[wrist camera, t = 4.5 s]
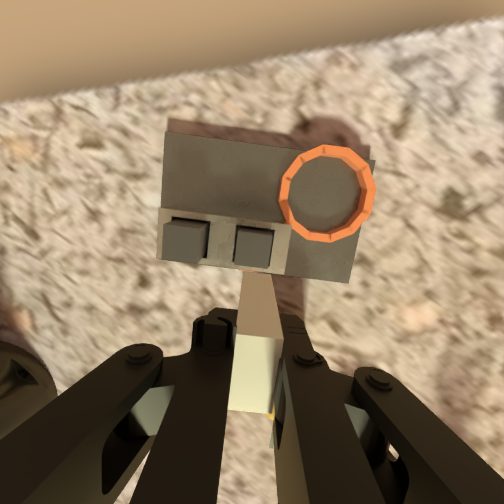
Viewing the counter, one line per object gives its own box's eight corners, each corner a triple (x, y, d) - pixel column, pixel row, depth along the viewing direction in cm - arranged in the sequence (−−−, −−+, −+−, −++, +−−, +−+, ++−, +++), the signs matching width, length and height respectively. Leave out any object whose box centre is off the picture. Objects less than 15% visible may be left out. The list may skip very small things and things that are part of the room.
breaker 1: (176, 248, 27) (161, 259, 23) (178, 218, 26) (163, 224, 22) (206, 252, 27) (197, 264, 23) (209, 222, 27) (200, 228, 22)
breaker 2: (237, 253, 28) (233, 264, 24) (240, 224, 28) (238, 231, 23) (265, 256, 29) (267, 269, 24) (269, 228, 28) (272, 235, 24)
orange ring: (272, 232, 29) (273, 235, 27) (286, 142, 27) (288, 139, 25) (357, 244, 29) (363, 247, 28) (377, 154, 27) (384, 152, 26)
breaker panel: (162, 255, 31) (145, 268, 26) (169, 134, 28) (151, 122, 23) (344, 279, 32) (360, 295, 27) (369, 161, 29) (392, 156, 24)
